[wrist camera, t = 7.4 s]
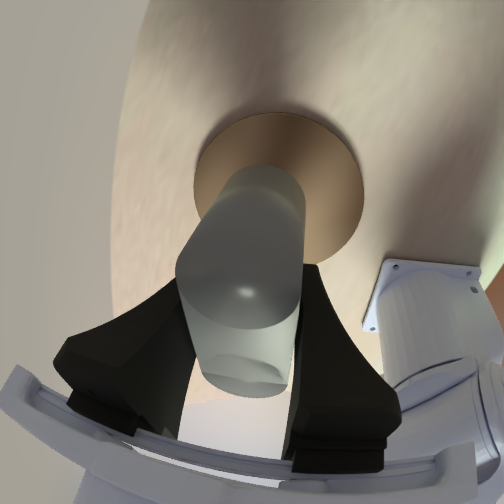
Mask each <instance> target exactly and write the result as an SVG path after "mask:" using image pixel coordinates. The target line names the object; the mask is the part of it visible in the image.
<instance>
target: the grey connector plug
mask: <svg viewBox="0 0 504 504" xmlns="http://www.w3.org/2000/svg"><path fill="white" fill-rule="evenodd" d="M305 220H306V200H305V195H304V192H303V190H302V188H301V186H300V185H299V183H298V182H297V181H296V180H295V178H293V177H292V176H291V175H290V174H289V173H287V172H286V171H284V170H282V169H280V168H277V167H275V166H271V165H264V164H258V165H251V166H247V167H245V168H242V169H240V170H239V171H237V172H236V173H234V174H233V175H232V176H231V177H230V178H229V179H228V181H227V182H226V184H225V185H224V187H223V188H222V190H221V191H220V193H219V194H218V196H217V197H216V199H215V200H214V202H213V203H212V205H211V206H210V208H209V209H208V211H207V212H206V214H205V215H204V217H203V218H202V220H201V221H200V223H199V225H198V226H197V228H196V229H195V231H194V232H193V234H192V235H191V237H190V239H189V240H188V242H187V243H186V245H185V247H184V248H183V250H182V251H181V253H180V255H179V256H178V259H177V262H176V267H175V276H176V282H177V286H178V290H179V294H180V298H181V302H182V306H183V309H184V313H185V317H186V321H187V324H188V328H189V331H190V335H191V338H192V342H193V345H194V349H195V352H196V355H197V359H198V362H199V365H200V369H201V372H202V374H203V376H204V377H205V378H206V380H207V381H209V382H210V383H211V384H212V385H214V386H215V387H217V388H219V389H221V390H223V391H225V392H228V393H230V394H234V395H237V396H242V397H248V398H266V397H272V396H275V395H278V394H280V393H282V392H283V391H284V390H285V389H286V387H287V385H288V379H289V373H290V367H291V361H292V355H293V348H294V342H295V335H296V328H297V321H298V314H299V306H300V299H301V288H302V274H303V259H304V241H305Z"/></svg>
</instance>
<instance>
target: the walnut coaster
mask: <svg viewBox="0 0 504 504" xmlns="http://www.w3.org/2000/svg"><path fill="white" fill-rule="evenodd" d="M258 164H264V165H271V166H275V167H277V168H280V169H282V170H284V171H286V172H287V173H289V174H290V175H291V176H292V177H293V178H295V180H296V181H297V182H298V183H299V185H300V186H301V188H302V190H303V192H304V195H305V200H306V220H305V241H304V259H303V263H305V264H317V263H319V262H322V261H324V260H326V259H327V258H329V257H331V256H332V255H334V254H335V253H336V252H338V251H339V250H340V249H341V248H342V247H343V246H344V245H345V244H346V243H347V242H348V241H349V239H350V238H351V237H352V235H353V234H354V232H355V230H356V228H357V226H358V224H359V222H360V219H361V215H362V212H363V206H364V187H363V181H362V177H361V174H360V171H359V168H358V166H357V164H356V162H355V160H354V158H353V156H352V154H351V152H350V151H349V150H348V148H347V147H346V146H345V144H344V143H343V142H342V141H341V140H340V139H339V138H338V137H337V136H336V135H335V134H334V133H333V132H331V131H330V130H329V129H327V128H326V127H324V126H323V125H321V124H319V123H317V122H315V121H313V120H311V119H308V118H306V117H303V116H299V115H295V114H289V113H280V112H279V113H263V114H258V115H253V116H250V117H247V118H244V119H242V120H240V121H238V122H236V123H234V124H232V125H231V126H229V127H228V128H226V129H225V130H224V131H222V132H221V133H220V134H219V135H218V136H217V137H216V138H214V139H213V140H212V142H211V143H210V144H209V145H208V147H207V148H206V149H205V151H204V153H203V154H202V156H201V158H200V160H199V163H198V165H197V168H196V173H195V177H194V199H195V204H196V208H197V211H198V214H199V217H200V219H201V220H202V218H203V217H204V215H205V214H206V212H207V211H208V209H209V208H210V206H211V205H212V203H213V202H214V200H215V199H216V197H217V196H218V194H219V193H220V191H221V190H222V188H223V187H224V185H225V184H226V182H227V181H228V179H229V178H230V177H231V176H232V175H233V174H234V173H236V172H237V171H239V170H240V169H242V168H245V167H247V166H251V165H258Z"/></svg>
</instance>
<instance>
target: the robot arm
mask: <svg viewBox="0 0 504 504" xmlns="http://www.w3.org/2000/svg"><path fill="white" fill-rule="evenodd" d="M394 265H397V266H396V267H393V266H394ZM468 271H469V272H468ZM467 272H468V273H467ZM481 273H482V271H481V269H480V268H479V267H473V266H463V265H452V264H442V263H432V262H421V261H410V260H400V259H387V260H385V261H384V262H383V264H382V268H381V271H380V274H379V278H378V281H377V284H376V287H375V290H374V293H373V296H372V299H371V302H370V305H369V308H368V310H367V313H366V316H365V319H364V321H363V324H362V330H363V331H364V332H379V338H380V345H381V353H382V361H383V371H384V380H383V379H382V377H381V376H380V375H379V374H378V373H377V372H376V371H375V370H374V368H373V367H372V366H371V365H370V364H369V363H368V361H367V360H366V359H365V357H364V356H363V355H362V353H361V352H360V351H359V350H358V348H357V347H356V345H355V344H354V343H353V341H352V340H351V338H350V337H349V335H348V333H347V332H346V330H345V329H344V327H343V325H342V323H341V322H340V320H339V318H338V316H337V314H336V312H335V310H334V308H333V306H332V304H331V302H330V299H329V297H328V295H327V293H326V290H325V288H324V285H323V282H322V279H321V276H320V273H319V268H318V266H317V265H316V264H305V263H303V274H302V288H301V299H300V306H299V314H298V321H297V328H296V335H295V352H294V377H293V385H292V392H291V400H290V407H289V414H288V421H287V427H286V433H285V439H284V445H283V451H282V457H281V460H277V459H268V458H260V457H253V456H247V455H240V454H235V453H229V452H224V451H219V450H215V449H210V448H206V447H201V446H197V445H193V444H189V443H185V442H182V441H178V440H177V438H178V432H179V426H180V421H181V415H182V410H183V406H184V401H185V397H186V393H187V388H188V384H189V380H190V377H191V373H192V369H193V366H194V362H195V359H196V356H197V355H196V352H195V349H194V345H193V342H192V338H191V335H190V331H189V328H188V324H187V321H186V317H185V313H184V309H183V306H182V302H181V298H180V294H179V290H178V286H177V282H176V277H175V278H174V279H173V280H171V281H170V282H169V283H168V284H167V285H165V286H164V287H163V288H161V289H160V290H159V291H158V292H156V293H155V294H154V295H152V296H151V297H150V298H148V299H147V300H145V301H144V302H142V303H141V304H139V305H138V306H136V307H135V308H133V309H131V310H130V311H128V312H126V313H124V314H122V315H120V316H119V317H117V318H115V319H113V320H111V321H109V322H107V323H105V324H103V325H101V326H98V327H96V328H93V329H91V330H88V331H85V332H82V333H80V334H77V335H74V336H71V337H68V338H67V340H66V341H65V343H64V344H63V346H62V347H61V349H60V351H59V352H58V354H57V355H56V357H55V358H54V360H53V365H54V368H55V369H56V371H57V372H58V373H59V375H61V377H62V378H63V379H64V380H65V381H66V382H67V383H68V385H69V386H70V387H71V388H72V389H73V391H72V393H71V395H70V397H69V398H67V397H65V396H63V395H61V394H60V393H58V392H56V391H54V390H52V389H50V388H48V387H47V386H45V385H43V384H42V383H41V382H40V380H39V379H38V378H37V377H36V376H35V375H33V374H32V373H31V372H30V371H28V370H26V369H25V368H23V367H21V366H20V365H16V366H15V368H14V370H13V371H12V373H11V374H10V376H9V378H8V379H7V381H6V383H5V384H4V386H3V388H2V390H1V391H0V409H1V410H3V411H4V412H5V413H6V414H7V415H8V416H10V417H11V418H12V419H13V420H15V421H16V422H17V423H18V424H19V425H21V426H22V427H23V428H24V429H26V430H27V431H28V432H30V433H31V434H32V435H34V436H35V437H36V438H38V439H39V440H41V441H42V442H43V443H45V444H46V445H48V446H49V447H51V448H52V449H54V450H55V451H57V452H58V453H60V454H62V455H63V456H65V457H67V458H68V459H70V460H71V461H73V462H75V463H76V464H78V465H80V466H82V467H83V468H85V469H86V471H85V474H84V476H83V479H82V481H81V484H80V486H79V489H78V492H77V494H76V497H75V500H74V502H73V504H496V502H497V500H498V499H499V498H500V497H501V496H502V495H503V494H504V369H503V367H502V366H501V364H502V360H503V356H504V336H503V332H502V329H501V326H500V324H499V321H498V319H497V317H496V315H495V313H494V311H493V309H492V306H491V304H490V302H489V300H488V298H487V296H486V294H485V292H484V290H483V288H482V286H481V284H480V282H479V281H478V280H479V278H480V275H481ZM120 440H121V441H120ZM122 441H123V442H122ZM124 442H126V443H128V444H131V445H133V446H136V447H139V448H141V449H144V450H147V451H150V452H153V453H156V454H159V455H162V456H165V457H168V458H171V459H175V460H178V461H182V462H185V463H189V464H193V465H197V466H201V467H205V468H210V469H214V470H218V471H223V472H228V473H234V474H240V475H246V476H252V477H259V478H267V479H275V480H286V481H281V482H280V483H279V487H278V488H274V487H267V486H261V485H256V484H250V483H245V482H240V481H235V480H230V479H227V478H222V477H218V476H214V475H210V474H206V473H202V472H198V471H195V470H191V469H187V468H184V467H181V466H177V465H173V464H170V463H167V462H164V461H161V460H157V459H154V458H151V457H148V456H145V455H142V454H140V453H138V452H137V451H135V450H134V449H133V448H132V446H130V445H128V444H126V443H124Z"/></svg>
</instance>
